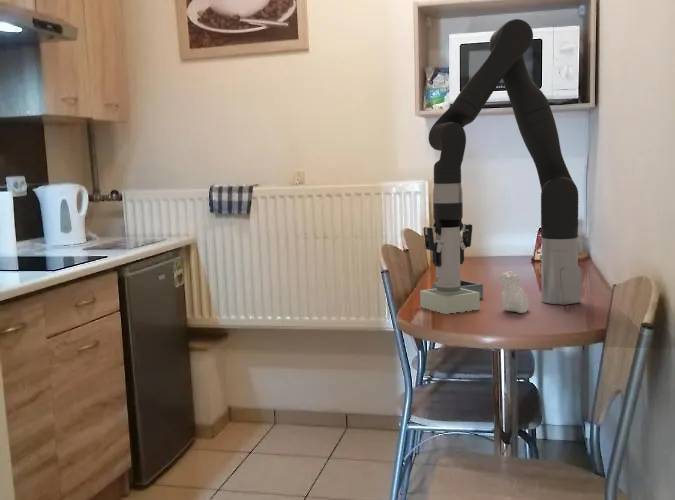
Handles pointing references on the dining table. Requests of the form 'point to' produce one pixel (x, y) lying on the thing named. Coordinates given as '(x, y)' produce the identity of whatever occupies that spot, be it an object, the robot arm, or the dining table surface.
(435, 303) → the tray
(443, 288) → the travel mug
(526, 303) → the bust
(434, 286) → the sleeve
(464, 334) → the dining table surface
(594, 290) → the dining table surface
